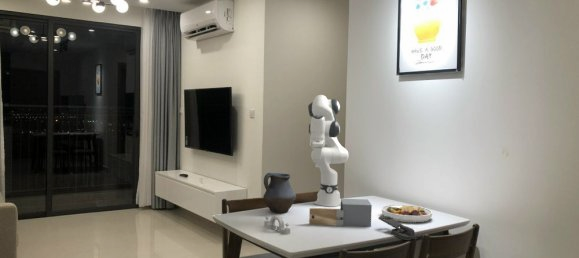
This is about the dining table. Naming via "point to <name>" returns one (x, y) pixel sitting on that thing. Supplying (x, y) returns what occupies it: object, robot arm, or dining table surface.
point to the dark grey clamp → (399, 229)
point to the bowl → (407, 213)
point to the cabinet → (354, 212)
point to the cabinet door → (323, 216)
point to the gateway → (281, 226)
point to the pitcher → (278, 192)
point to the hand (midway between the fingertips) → (316, 166)
